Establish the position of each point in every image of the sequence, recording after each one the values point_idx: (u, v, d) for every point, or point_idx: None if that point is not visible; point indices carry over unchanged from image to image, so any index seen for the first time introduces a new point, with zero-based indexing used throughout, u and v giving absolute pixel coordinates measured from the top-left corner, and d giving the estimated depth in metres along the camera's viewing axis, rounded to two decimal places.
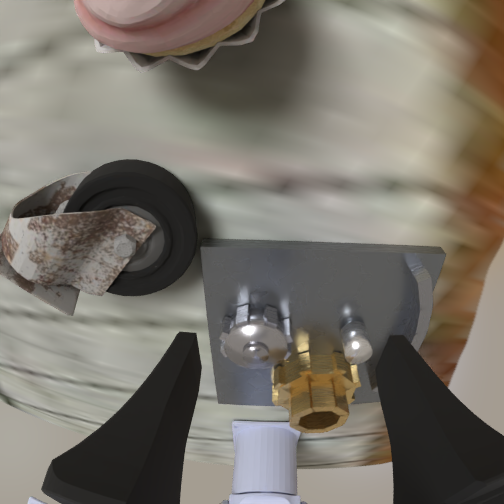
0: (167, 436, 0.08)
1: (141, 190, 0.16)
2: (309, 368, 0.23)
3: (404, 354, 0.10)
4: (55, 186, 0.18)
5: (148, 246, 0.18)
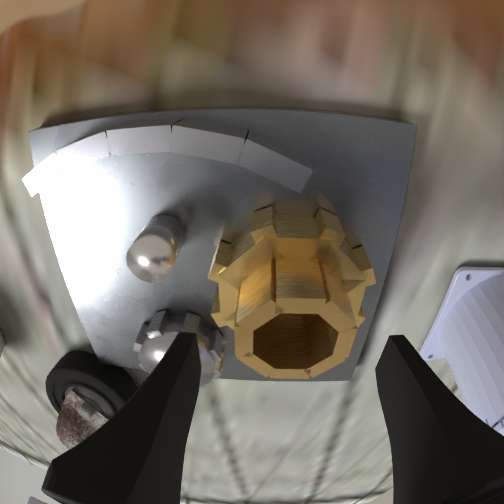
0: (167, 436, 0.08)
1: (54, 388, 0.21)
2: (212, 313, 0.15)
3: (404, 354, 0.10)
4: None
5: (88, 397, 0.21)
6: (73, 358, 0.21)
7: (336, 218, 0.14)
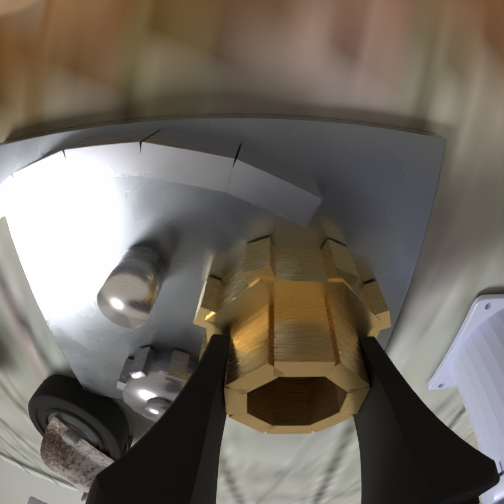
0: (210, 441, 0.08)
1: (37, 412, 0.18)
2: (200, 358, 0.13)
3: (371, 356, 0.10)
4: None
5: (72, 425, 0.18)
6: (56, 384, 0.18)
7: (347, 251, 0.11)
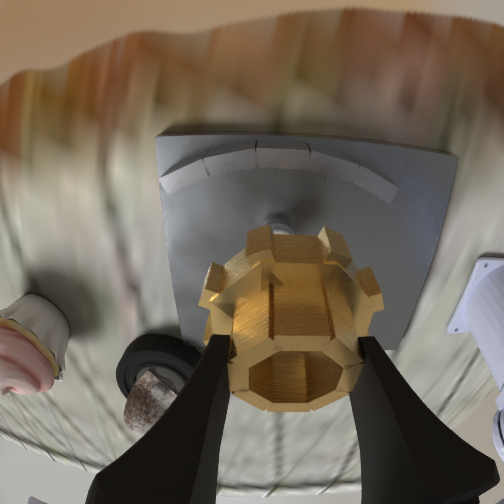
0: (210, 441, 0.08)
1: (126, 369, 0.25)
2: (204, 340, 0.13)
3: (371, 356, 0.10)
4: None
5: (164, 377, 0.25)
6: (152, 340, 0.25)
7: (342, 237, 0.12)
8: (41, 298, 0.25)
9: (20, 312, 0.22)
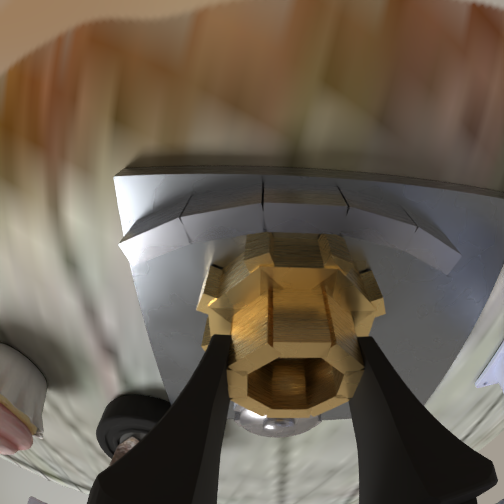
0: (211, 441, 0.08)
1: (108, 432, 0.19)
2: (202, 345, 0.13)
3: (369, 356, 0.10)
4: None
5: None
6: (136, 404, 0.20)
7: (342, 241, 0.12)
8: (11, 350, 0.19)
9: None
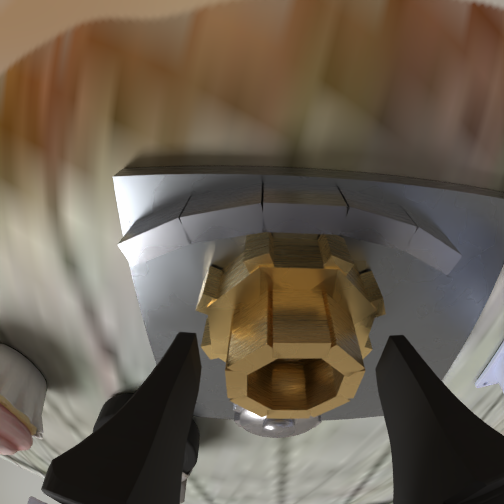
0: (167, 436, 0.08)
1: None
2: (202, 345, 0.13)
3: (404, 354, 0.10)
4: None
5: None
6: None
7: (342, 241, 0.12)
8: (11, 350, 0.19)
9: None
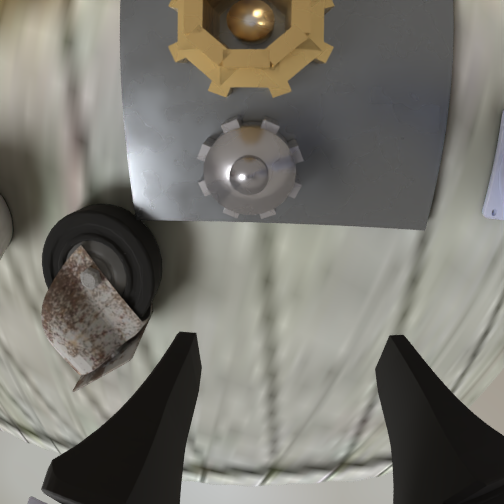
0: (167, 436, 0.08)
1: (55, 246, 0.18)
2: (169, 48, 0.12)
3: (404, 354, 0.10)
4: None
5: (100, 258, 0.18)
6: (94, 206, 0.18)
7: None
8: None
9: None
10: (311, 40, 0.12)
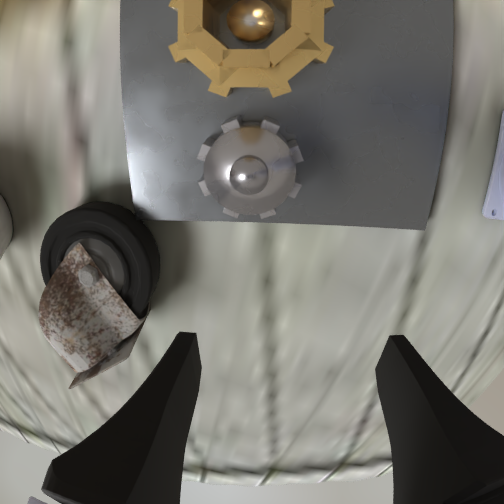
0: (167, 436, 0.08)
1: (54, 243, 0.18)
2: (169, 47, 0.12)
3: (404, 354, 0.10)
4: None
5: (98, 256, 0.18)
6: (93, 204, 0.18)
7: None
8: None
9: None
10: (311, 40, 0.12)
